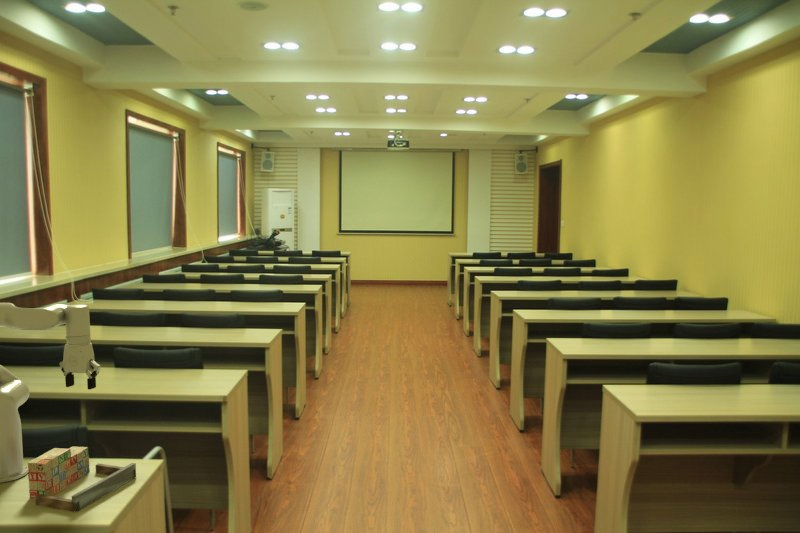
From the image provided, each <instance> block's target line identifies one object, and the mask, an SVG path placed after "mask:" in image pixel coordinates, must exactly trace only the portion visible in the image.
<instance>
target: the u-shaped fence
mask: <svg viewBox="0 0 800 533" xmlns="http://www.w3.org/2000/svg"><path fill="white" fill-rule="evenodd" d="M95 474H99V475H106V476H105V477H103V478H102V479H100V480H98V481H97V482H95V483H93V484H91V485H89V486H87V487H86V488H84V489H82V490H80V491H78V492H76V493H75V494H73V495H71V498H65V497H61V496H60V497H58V496H55V495H53V496H48V495H42V494H38V495H36V496H35V499H34V500H35V506H38V507H45V508H50V509H56V510H61V511H67V512H73V513H78V512H79V511H81V510H83V509H84V508H86V507H88V506H90V505H92V504H93V503H95V502H96V501H98V500H100V499H101V498H103V497H104V496H107V495H109V494H110V493H111V492H113V491H115V490H117V489H118V488H120V487H122V486H124V485H125V484H127V483H129V482H131V481H133V480H134V479H136V478H137V467H136V463H135V462H130V463H129V464H127V465H126V466H118V465H111V464H103V463H99V462H98V463H97V464H95ZM135 477H136V478H135ZM130 480H131V481H130ZM123 484H124V485H123Z"/></svg>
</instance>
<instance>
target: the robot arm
mask: <svg viewBox="0 0 800 533" xmlns="http://www.w3.org/2000/svg"><path fill="white" fill-rule="evenodd" d="M90 317H91V316H90V308H89V306H88V305H87V304H71V305H70V304H69V305H68V304H62V303H61V304H59V303H58V304H57V303H55V304H51V305H49V306H46V307H44V308H36V307H35V308H29V307H28V308H27V307H20V306H19V307H18V306H16V305H15V304H14V303H12V302H0V328H8V329H13V330H23V331H49V330H53V329H55V328H57V327H59V326H63V325H65V340H66V343H65V344H64V347H63V360H62V361H60V362H59V363H58V364H59V366H60V369H61V372H62V373H63V376H64V377H65V378H64V379H65V387H66V388H70V387H73V386H75V374H86V376H87V377H88V378H87V379H86V380H87V381H86V383H87V384H86V385H87V390H89V391H90V390H93V389H96V387H97V380H96V378H97V377H98V375H99V373H100V370H101V368H102V365H101V364H99V363H98V362H96V361H95V359H96V358H95V352H94V348H93V343H92V342H91V341H92V340H91V322H90V321H91V320H90ZM74 373H75V374H74ZM29 397H30V389H29V386H28V385H27V384H26V383H25V382H24V381H23V380H22V379H20V378H19V377H18V376H16V375H15V374H14V373H12V372H11V371H10V370H8V369H7V368H6V367H5V366H3V365H1V364H0V483H7V482H12V481H15V480H17V479H21V478H23V477H24V476H26V475H28V472H29V471H28V465H24V452H23V450H24V449H23V434H22V433H23V432H22V422H21V421H22V420H21V418H20V417H21V416H20V413H19V410H18V409H19V407H20V406H22V405H24V404H25V402H27V400H28V399H29Z"/></svg>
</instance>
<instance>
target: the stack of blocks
mask: <svg viewBox="0 0 800 533" xmlns="http://www.w3.org/2000/svg"><path fill="white" fill-rule="evenodd" d="M27 467H28V471H29V472H28V473H27V475H28V488H29V491H28V492H29V499H34V500H35V496H36V495H38V494H42V495H48V496H55V495H57V494H58V493H59V492H61V491H63V490H64V489H66V488H67V487H68V486H70V485H71V484H73V483H75V482H76V481H78V480H80V478H82V477H83V476H84V477H85V476H86V475H87V474H89V473H90V471H91V470H90V454H89V447H88V446H71V447H69V448H59V447H54V448H52V449H50V450H48V451H46V452H44V453H43V454H41V455H39V456H38V457H36V458H33V459H32V460H29V461H28V462H27Z"/></svg>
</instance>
